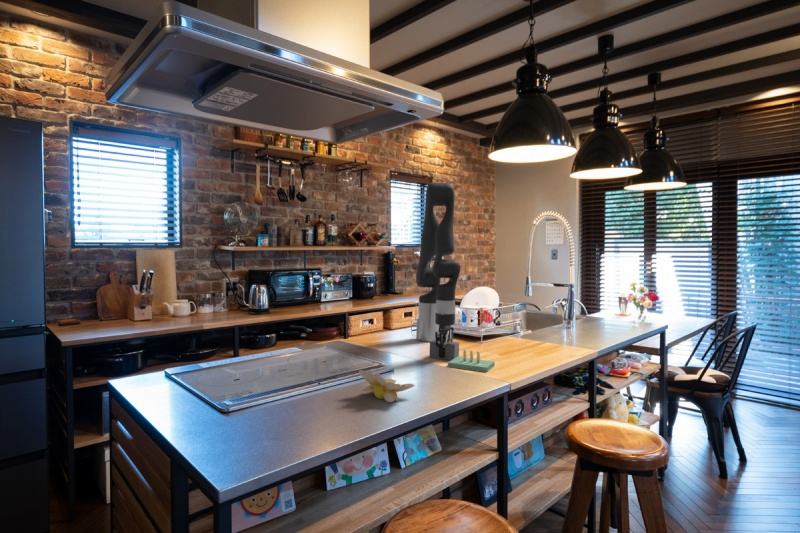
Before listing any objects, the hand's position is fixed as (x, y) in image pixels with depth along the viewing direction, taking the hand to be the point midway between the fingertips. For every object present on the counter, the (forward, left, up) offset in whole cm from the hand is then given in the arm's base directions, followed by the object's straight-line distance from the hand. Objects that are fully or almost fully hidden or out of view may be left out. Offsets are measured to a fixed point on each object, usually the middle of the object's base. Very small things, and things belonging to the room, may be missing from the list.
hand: (444, 356), depth 172 cm
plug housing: (0, 0, -1) cm, 1 cm away
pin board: (+13, -7, -1) cm, 15 cm away
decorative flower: (+4, -53, -1) cm, 53 cm away
